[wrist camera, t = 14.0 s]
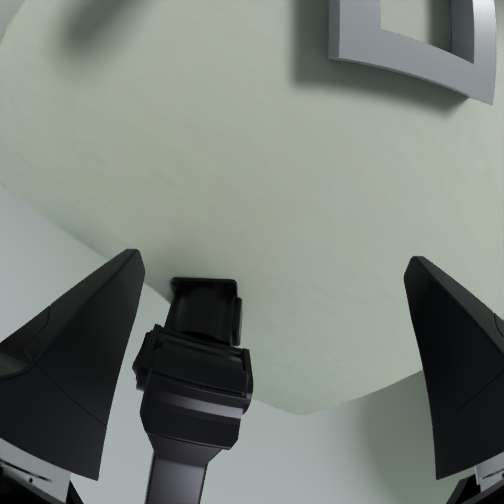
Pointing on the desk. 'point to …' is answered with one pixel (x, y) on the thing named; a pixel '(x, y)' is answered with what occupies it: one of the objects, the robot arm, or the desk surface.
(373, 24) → the dock
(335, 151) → the desk surface
